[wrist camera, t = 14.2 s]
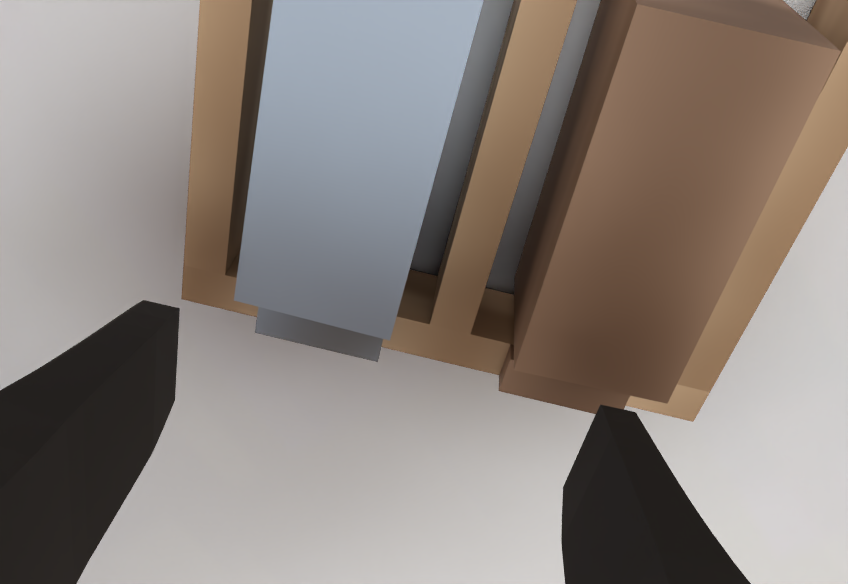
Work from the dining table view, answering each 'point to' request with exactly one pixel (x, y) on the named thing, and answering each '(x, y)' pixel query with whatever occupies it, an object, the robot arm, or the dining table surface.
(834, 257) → the dining table surface
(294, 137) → the slate stick
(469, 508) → the dining table surface
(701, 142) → the walnut block
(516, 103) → the rack
